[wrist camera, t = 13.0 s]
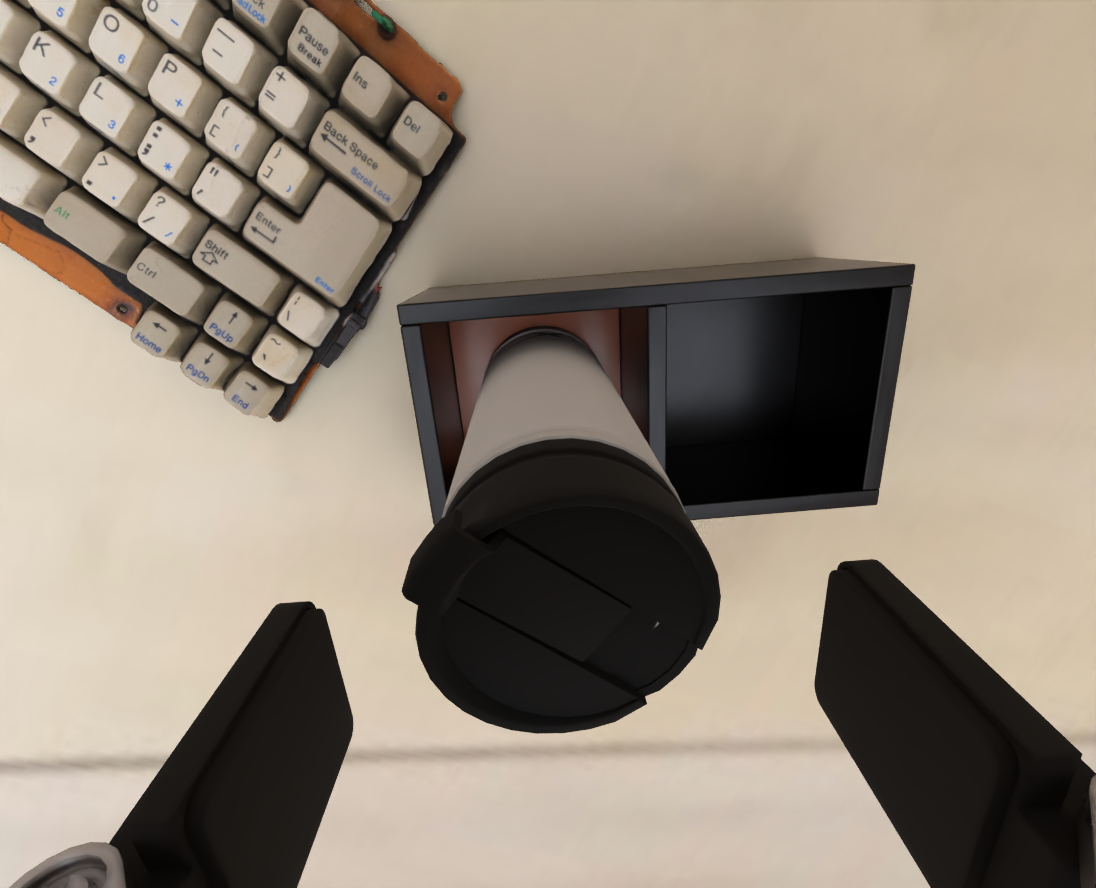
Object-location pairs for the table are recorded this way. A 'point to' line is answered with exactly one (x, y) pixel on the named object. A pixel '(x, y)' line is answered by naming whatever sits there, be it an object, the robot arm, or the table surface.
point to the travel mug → (558, 552)
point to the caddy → (695, 372)
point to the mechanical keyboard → (220, 172)
